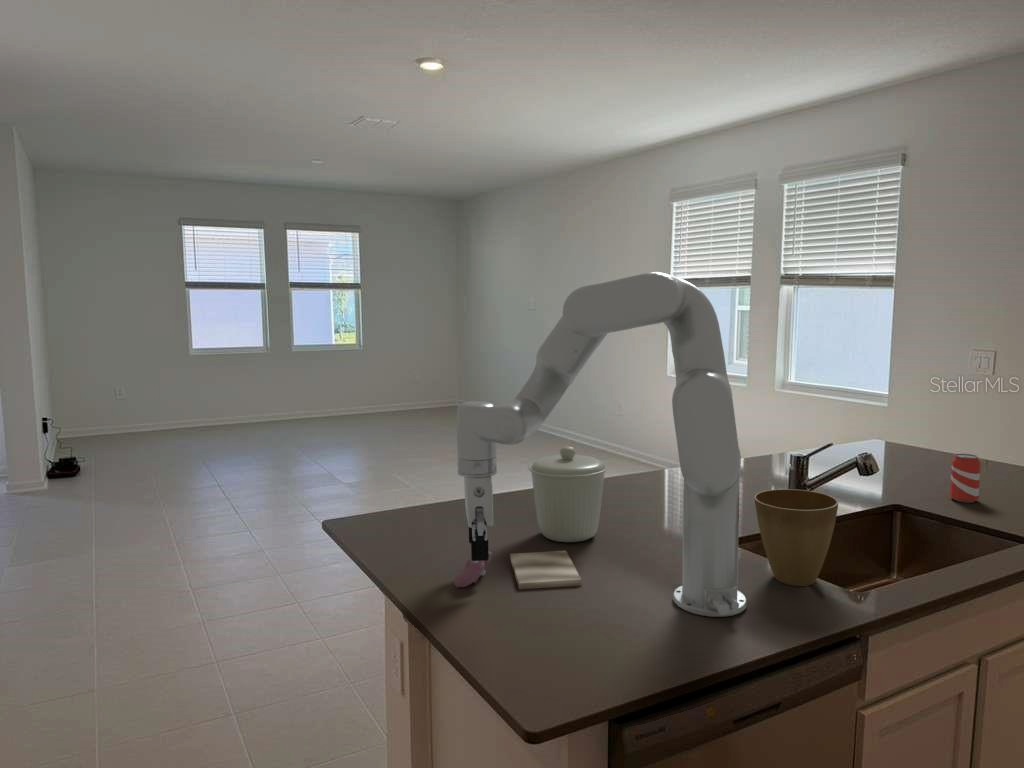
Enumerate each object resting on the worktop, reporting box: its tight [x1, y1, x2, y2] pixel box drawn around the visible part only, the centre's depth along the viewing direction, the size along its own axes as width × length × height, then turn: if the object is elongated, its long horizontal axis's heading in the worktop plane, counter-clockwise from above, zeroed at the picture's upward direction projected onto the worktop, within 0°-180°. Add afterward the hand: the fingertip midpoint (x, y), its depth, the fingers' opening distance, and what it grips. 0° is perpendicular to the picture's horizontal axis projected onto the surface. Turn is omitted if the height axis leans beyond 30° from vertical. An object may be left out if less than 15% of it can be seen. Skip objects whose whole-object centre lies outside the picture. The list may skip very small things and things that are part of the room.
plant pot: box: [754, 488, 839, 587], centre depth 136 cm, size 15×15×16 cm
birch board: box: [509, 550, 582, 590], centre depth 142 cm, size 16×12×1 cm
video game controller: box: [454, 549, 493, 588], centre depth 139 cm, size 10×5×7 cm, turn 169°
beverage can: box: [949, 453, 982, 504], centre depth 186 cm, size 6×6×12 cm
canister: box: [528, 445, 608, 543], centre depth 163 cm, size 18×18×21 cm
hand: (478, 551), depth 138 cm, fingers open, 9 cm apart
